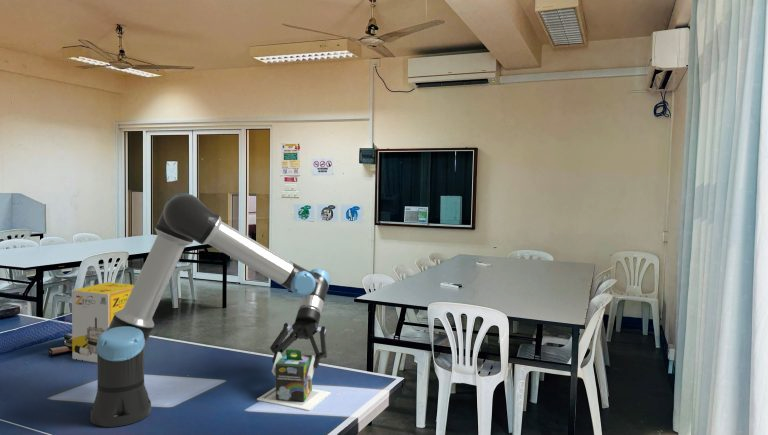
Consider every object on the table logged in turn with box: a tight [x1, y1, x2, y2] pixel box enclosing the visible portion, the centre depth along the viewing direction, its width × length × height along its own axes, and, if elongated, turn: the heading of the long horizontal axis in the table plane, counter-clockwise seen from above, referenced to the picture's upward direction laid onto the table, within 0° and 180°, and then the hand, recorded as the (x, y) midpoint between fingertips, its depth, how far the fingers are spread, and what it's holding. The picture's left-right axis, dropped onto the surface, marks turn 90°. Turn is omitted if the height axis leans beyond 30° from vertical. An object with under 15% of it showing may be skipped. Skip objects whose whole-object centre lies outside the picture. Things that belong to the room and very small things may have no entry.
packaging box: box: [71, 282, 135, 364], centre depth 196 cm, size 16×16×25 cm
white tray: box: [256, 386, 332, 412], centre depth 165 cm, size 14×18×1 cm
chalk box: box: [275, 348, 313, 402], centre depth 164 cm, size 9×9×15 cm
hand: (291, 375), depth 161 cm, fingers open, 11 cm apart
